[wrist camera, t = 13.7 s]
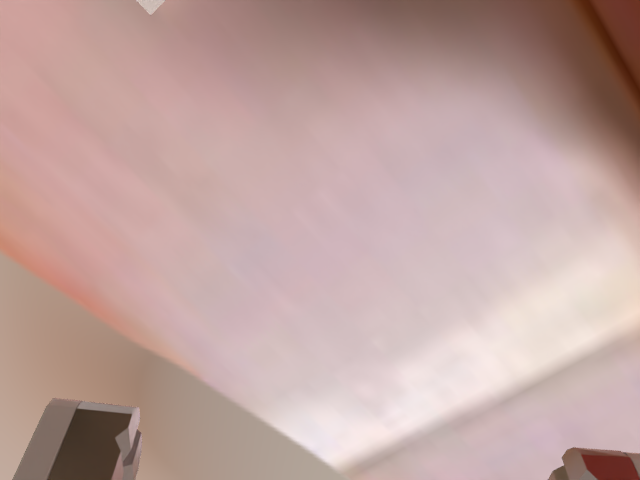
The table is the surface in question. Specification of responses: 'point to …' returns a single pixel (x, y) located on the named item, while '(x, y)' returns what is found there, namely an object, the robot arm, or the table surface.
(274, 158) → the table surface
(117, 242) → the table surface
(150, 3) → the lever board
